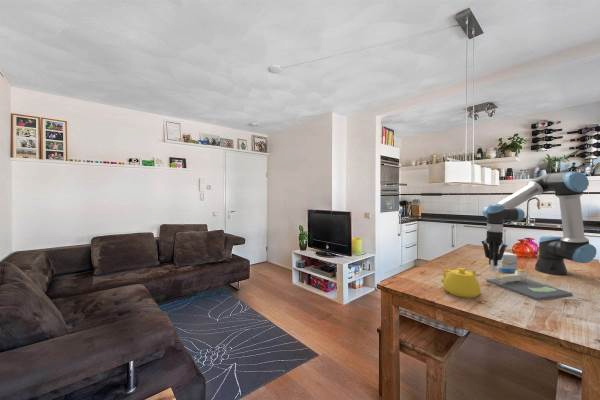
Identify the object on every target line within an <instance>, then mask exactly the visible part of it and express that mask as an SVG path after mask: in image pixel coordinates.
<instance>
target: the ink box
mask: <svg viewBox="0 0 600 400" xmlns="http://www.w3.org/2000/svg"><path fill="white" fill-rule="evenodd" d="M517 269H518V255H517V254H515V253H512V252H510V251H509V252H507V251H504V254H503V257H502V260H498V265H497V266H496V271H499V272H502V273H507V274H515V270H517Z"/></svg>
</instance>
